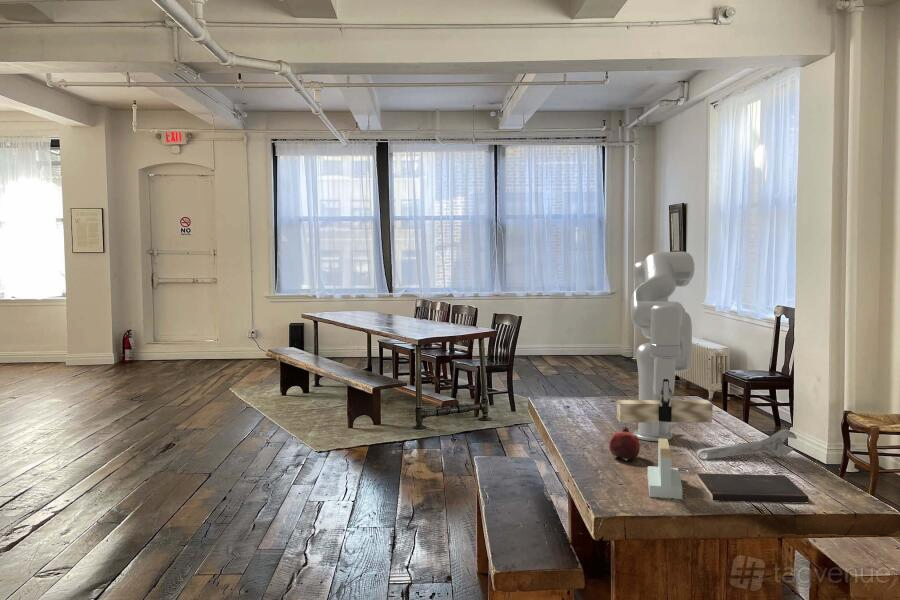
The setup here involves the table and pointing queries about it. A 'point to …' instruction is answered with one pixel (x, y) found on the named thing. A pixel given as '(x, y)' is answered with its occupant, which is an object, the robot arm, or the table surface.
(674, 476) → the ridge stand
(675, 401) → the birch bar
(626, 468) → the table surface
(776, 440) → the wrench
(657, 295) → the robot arm
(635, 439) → the fruit
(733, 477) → the hardcover book
